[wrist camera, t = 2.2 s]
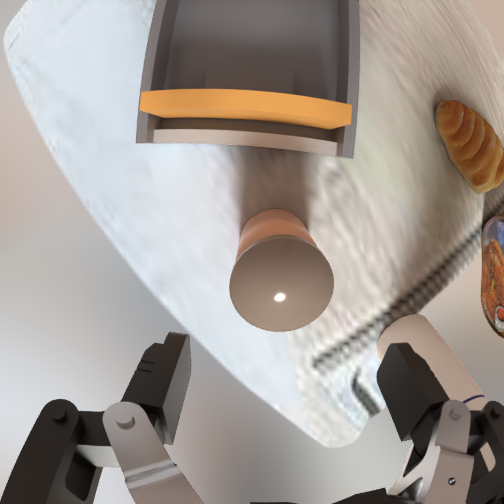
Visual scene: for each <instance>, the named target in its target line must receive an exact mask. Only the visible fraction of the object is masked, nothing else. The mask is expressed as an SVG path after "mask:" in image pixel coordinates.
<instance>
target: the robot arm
mask: <svg viewBox="0 0 504 504" xmlns="http://www.w3.org/2000/svg"><path fill="white" fill-rule="evenodd" d="M430 369H431V368H430V367H429V365H428V364H427V362H426V360H425V359H423V358H422V357H421V356H420V355H419V354H417V353H415V352H414V350H413V348H412V347H411V345H410V344H409V343H407V342H402V343H391V344H390V345H389V346H388V348H387V351H386V353H385V355H384V358H383V360H382V362H381V364H380V366H379V369H378V371H377V383H378V386H379V388H380V390H381V393H382V395H383V398H384V400H385V402H386V405H387V407H388V409H389V412H390V414H391V417H392V419H393V422H394V424H395V427H396V429H397V432H398V434H399V437H400V439H401V441H407V440H410V439H412V440H413V443H412V444H411V446H410V448H409V450H408V453H407V456H406V458H405V461H404V464H403V466H402V469H401V471H400V473H399V476H398V478H397V480H396V482H395V484H394V485H393V487H392V488H391V489H390V490H389V491H388V493H386V489H385V488H381V489H377V490H373V491H369V492H365V493H360V494H355V495H353V496H351V497H348V498H346V499H343V500H341V501H338V502H335V503H333V504H465V502H466V504H504V406H503V405H501V404H500V403H499V402H496V401H490V402H488V403H486V405H485V406H484V407H483V409H482V410H469V408H468V407H467V406H466V405H465V404H464V403H463V402H461V401H458V400H450V399H449V397H448V395H447V394H446V392H445V390H444V389H443V387H442V385H441V384H440V382H439V381H438V379H437V377H435V374H434V373H433V371H432V370H430ZM190 375H191V351H190V337H189V334H182V333H175V332H169V333H168V335H167V337H166V339H165V342H164V344H159V343H154V344H153V345H151V346H150V347H149V348H148V349H146V350H145V352H144V354H143V356H142V358H141V362H139V364H138V366H137V370H136V371H135V373H134V375H133V377H132V379H131V381H130V383H129V385H128V387H127V389H126V392H125V394H124V396H123V398H122V400H121V401H120V402H118V403H115V404H113V405H111V406H110V407H108V408H107V409H106V411H102V412H92V411H78V410H77V408H76V406H75V405H74V404H73V403H72V402H70V401H68V400H65V399H56V400H53V401H50V402H49V403H47V404H46V405H45V406H44V408H43V409H42V411H41V413H40V415H39V417H38V418H37V420H36V422H35V424H34V426H33V428H32V430H31V432H30V434H29V436H28V438H27V440H26V442H25V444H24V446H23V448H22V450H21V452H20V454H19V456H18V459H17V461H16V463H15V465H14V468H13V470H12V472H11V475H10V477H9V480H8V482H7V485H6V487H5V490H4V492H3V495H2V498H1V501H0V504H93V501H94V497H95V493H96V490H97V486H98V482H99V479H100V476H101V472H102V469H103V467H121V470H122V472H123V474H124V477H125V483H126V485H127V488H128V490H129V492H130V494H131V496H132V498H133V499H134V501H135V503H136V504H204V502H203V501H202V500H201V498H200V497H199V496H198V494H197V493H196V492H195V490H194V489H193V487H192V486H191V485H190V483H189V482H188V481H187V479H186V477H185V476H184V475H183V473H182V472H181V470H180V469H179V467H178V466H177V465H176V464H174V463H173V461H172V459H171V458H170V456H169V455H168V453H167V451H166V450H165V448H164V444H169V445H173V442H174V438H175V434H176V430H177V426H178V422H179V418H180V414H181V410H182V406H183V402H184V399H185V395H186V391H187V387H188V383H189V380H190ZM487 442H488V444H489V446H490V449H491V451H492V453H493V455H494V458H495V466H494V468H493V469H492V470H491V471H490V472H489V470H488V468H487V465H486V463H485V460H484V458H483V456H482V453H481V451H480V449H481V448H482V447H483V446H484V445H485V444H486V443H487ZM250 504H296V503H289V502H275V503H274V502H269V503H266V502H261V503H258V502H251V503H250Z"/></svg>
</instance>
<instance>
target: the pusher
mask: <svg viewBox="0 0 504 504" xmlns="http://www.w3.org/2000/svg"><path fill="white" fill-rule="evenodd" d="M294 67H295V66H292V65H284V64H275V63H264V62H250V61H223V60H207V68H206V77H205V86H204V89H175V90H158V91H146V92H141V100H140V111H143V112H147V113H150V114H154V115H157V116H160V117H163V118H227V119H245V120H258V121H269V122H279V123H288V124H296V125H303V126H310V127H317V128H323V129H329V130H330V129H334V128H338V127H341V126H345V125H349V124H351V116H352V105H350V104H345V103H340V102H335V101H330V100H324V99H319V98H313V97H306V96H300V95H292V93H293V80H294Z"/></svg>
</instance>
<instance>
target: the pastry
mask: <svg viewBox="0 0 504 504" xmlns="http://www.w3.org/2000/svg"><path fill="white" fill-rule="evenodd" d="M435 124H436V128H437V130H438V132H439V134H440V135H441V137H442V140H443V141H444V145H445V147H446V149H447V153H448V156H449V159H450V160H451V161H452V162H453V163H454V164H455V166H456V167H457V169H458V170H459V172H460V173H461V175H462V176H463V178H464V179H465V180H466V182H467V183H468V184H469V185H470V186H471V188H472V189H473V190H474V192H475V193H477V194H482V193H484V192H488V191H490V190H491V189H492V188H496V187H498V186H499V185H500V184H501V183H502V181H503V180H504V148H503V147H502V145H501V142H500V140H499V138H498V136H497V135H496V133H495V132H494V130H493V128H492V127H491V126H490V125H489V124H488V123H487V121H486V120H484V119H483V118H482V117H481V116H480V114H478V113H476V112H475V111H474V110H473V109H470V108H468V107H467V106H465V105H464V104H462V103H460V102H459V101H457V100H451V101H441V102H440V103H439V105H438V107H437V109H436V117H435Z"/></svg>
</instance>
